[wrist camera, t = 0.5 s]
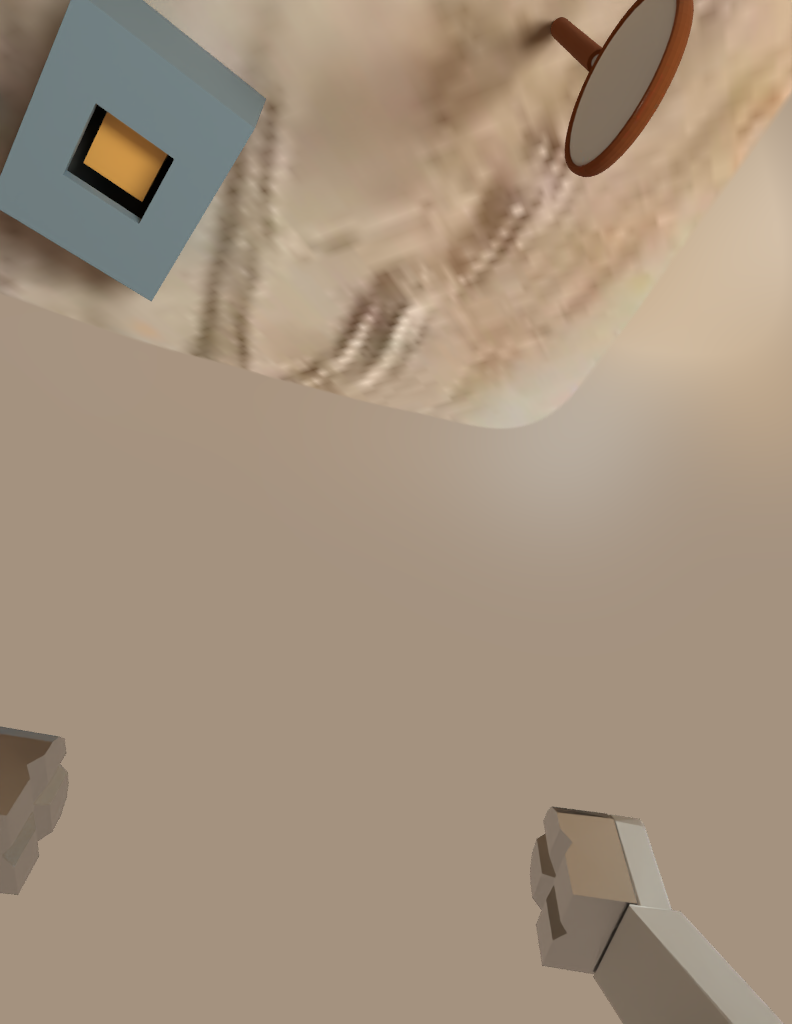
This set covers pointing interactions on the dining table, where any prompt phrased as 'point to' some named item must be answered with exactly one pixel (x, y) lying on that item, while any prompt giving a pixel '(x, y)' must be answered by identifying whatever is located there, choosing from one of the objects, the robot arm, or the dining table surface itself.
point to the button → (125, 157)
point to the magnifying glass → (622, 79)
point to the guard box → (144, 108)
